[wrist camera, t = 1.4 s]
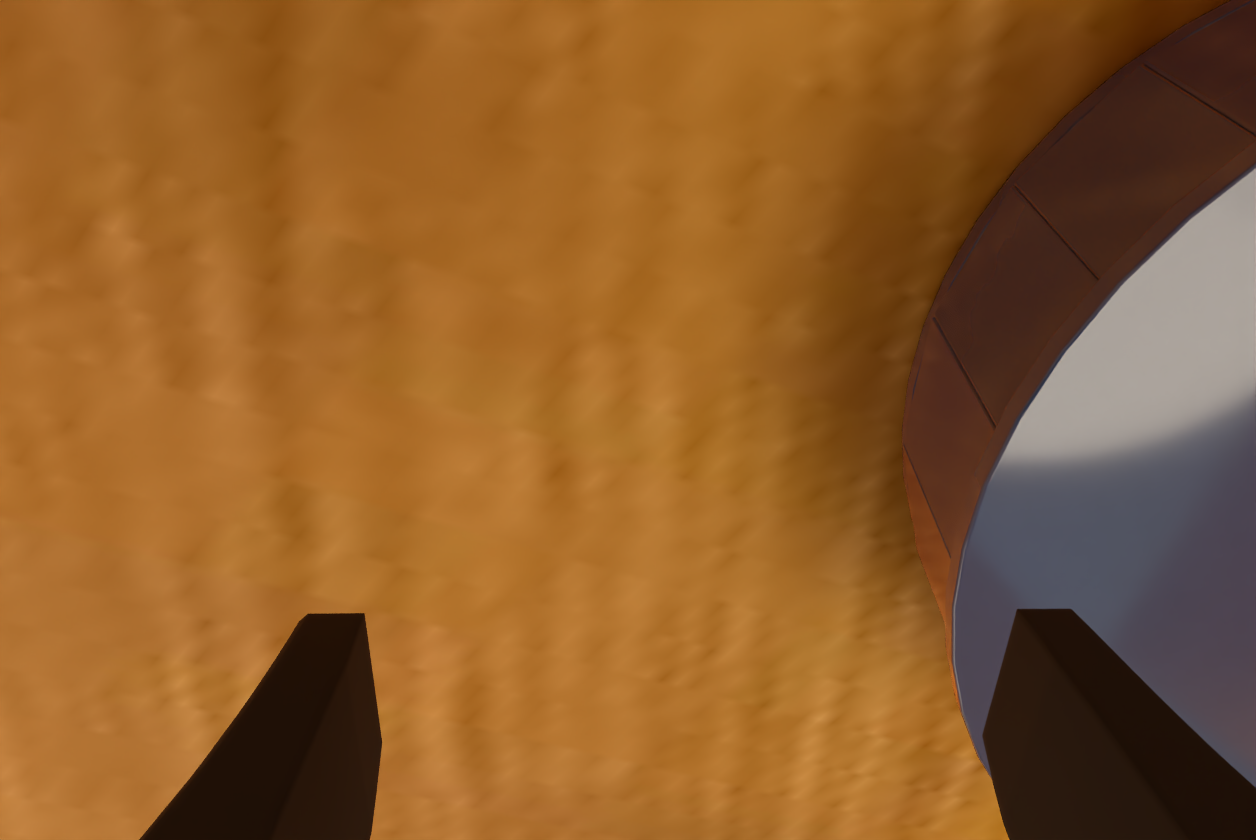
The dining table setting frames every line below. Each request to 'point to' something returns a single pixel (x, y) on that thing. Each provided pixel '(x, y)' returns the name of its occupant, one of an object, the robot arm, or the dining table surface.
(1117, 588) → the pan lid
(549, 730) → the dining table surface
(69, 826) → the dining table surface
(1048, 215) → the pan
